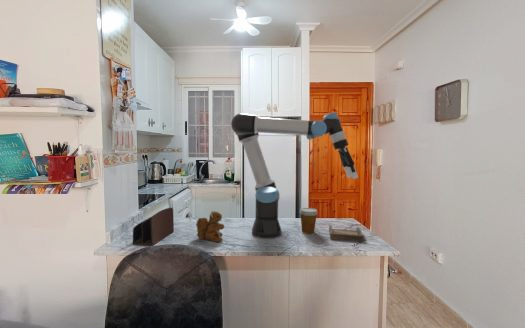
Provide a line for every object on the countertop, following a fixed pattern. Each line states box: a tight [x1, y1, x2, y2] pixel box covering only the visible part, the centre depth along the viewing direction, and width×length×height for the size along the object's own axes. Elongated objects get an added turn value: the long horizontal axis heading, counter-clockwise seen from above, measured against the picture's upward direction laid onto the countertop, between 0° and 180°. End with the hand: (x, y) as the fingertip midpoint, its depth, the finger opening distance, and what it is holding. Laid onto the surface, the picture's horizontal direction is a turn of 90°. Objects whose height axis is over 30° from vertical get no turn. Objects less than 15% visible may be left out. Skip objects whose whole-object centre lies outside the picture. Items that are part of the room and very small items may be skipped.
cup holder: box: [328, 225, 365, 242], centre depth 137 cm, size 15×15×3 cm
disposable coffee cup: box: [299, 207, 319, 235], centre depth 141 cm, size 10×10×12 cm
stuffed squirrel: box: [196, 210, 225, 243], centre depth 130 cm, size 10×14×13 cm
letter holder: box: [132, 207, 175, 247], centre depth 129 cm, size 10×20×14 cm, turn 171°
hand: (352, 177), depth 143 cm, fingers open, 13 cm apart
